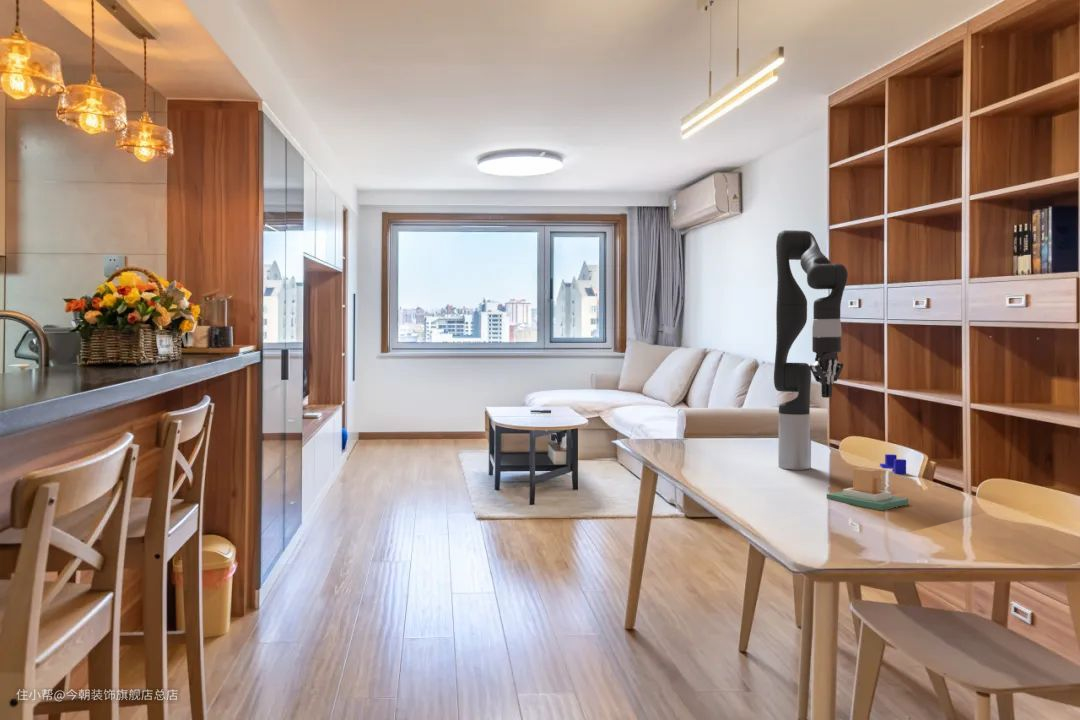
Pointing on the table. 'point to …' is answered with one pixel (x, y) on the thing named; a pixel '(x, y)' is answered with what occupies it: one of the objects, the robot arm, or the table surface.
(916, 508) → the table surface
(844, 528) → the table surface
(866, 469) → the tan rectangular block
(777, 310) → the robot arm
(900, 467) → the cable clip
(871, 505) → the board
